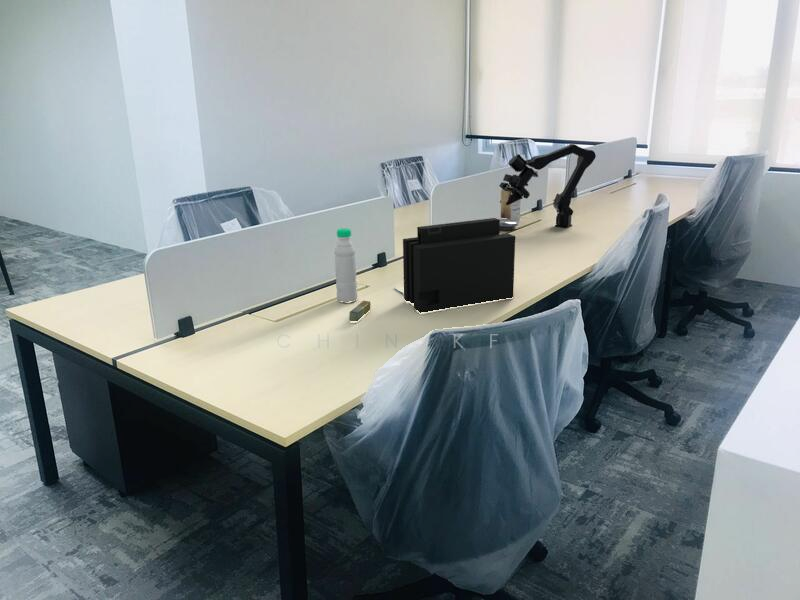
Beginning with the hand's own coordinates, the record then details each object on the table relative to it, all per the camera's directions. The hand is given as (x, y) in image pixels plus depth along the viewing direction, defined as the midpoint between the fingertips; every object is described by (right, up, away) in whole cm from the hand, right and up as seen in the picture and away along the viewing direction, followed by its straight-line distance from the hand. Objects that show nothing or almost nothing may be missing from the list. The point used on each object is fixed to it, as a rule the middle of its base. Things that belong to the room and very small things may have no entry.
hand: (503, 204), depth 320 cm
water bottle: (-68, -46, -90) cm, 122 cm away
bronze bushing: (+2, -6, +3) cm, 7 cm away
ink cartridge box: (+8, -5, +27) cm, 28 cm away
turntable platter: (+2, -9, +10) cm, 13 cm away
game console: (-33, -44, -85) cm, 102 cm away
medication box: (-62, -52, -106) cm, 133 cm away
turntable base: (+2, -10, +10) cm, 15 cm away
